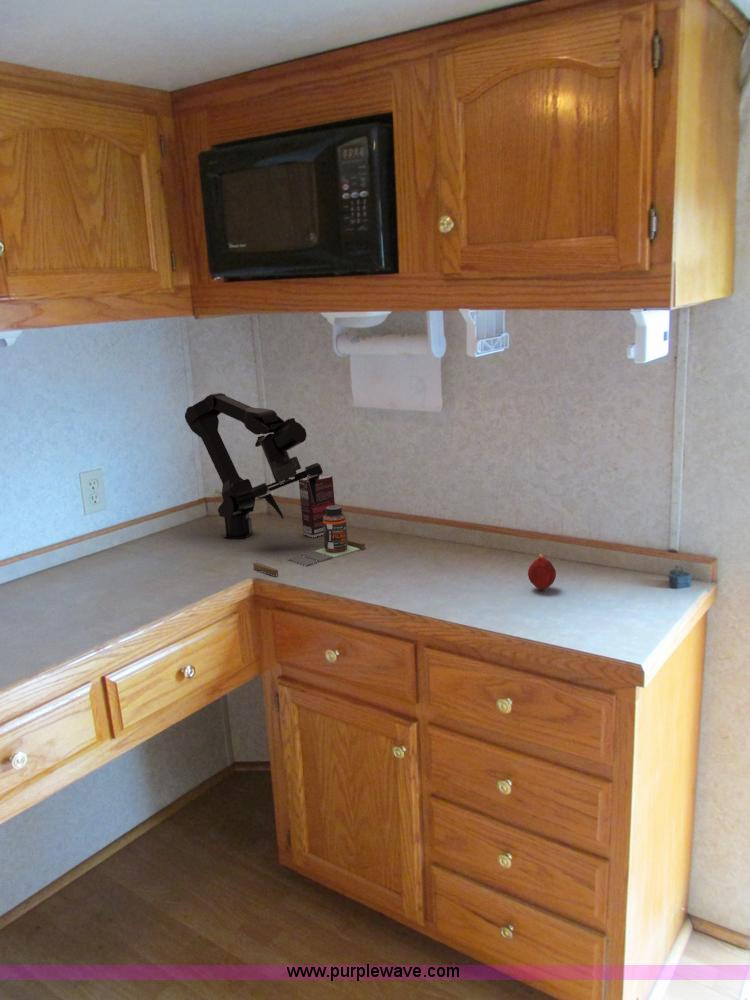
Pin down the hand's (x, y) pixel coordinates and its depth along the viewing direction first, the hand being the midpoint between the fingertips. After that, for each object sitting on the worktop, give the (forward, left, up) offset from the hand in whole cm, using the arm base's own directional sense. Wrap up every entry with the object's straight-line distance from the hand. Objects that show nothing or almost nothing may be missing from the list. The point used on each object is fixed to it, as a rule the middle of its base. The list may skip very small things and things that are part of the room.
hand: (299, 512), depth 214 cm
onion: (+61, -29, -10) cm, 69 cm away
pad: (+10, -2, -10) cm, 14 cm away
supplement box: (+1, +14, -10) cm, 17 cm away
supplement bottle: (+10, -2, -10) cm, 14 cm away
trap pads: (+5, -9, -10) cm, 14 cm away
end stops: (+5, -9, -10) cm, 14 cm away
